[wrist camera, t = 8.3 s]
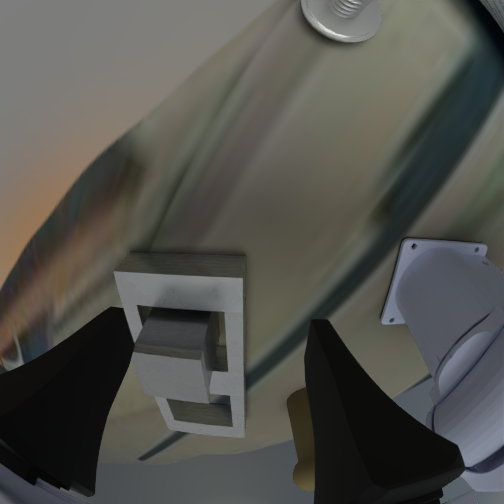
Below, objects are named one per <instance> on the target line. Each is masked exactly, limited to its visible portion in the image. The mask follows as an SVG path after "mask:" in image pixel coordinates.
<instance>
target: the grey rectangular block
mask: <svg viewBox="0 0 504 504" xmlns="http://www.w3.org/2000/svg"><path fill="white" fill-rule="evenodd" d="M219 337H220V331H219V319H218V311H203V310H189V309H176V308H164V307H153V308H152V310H151V312H150V314H149V316H148V318H147V320H146V322H145V324H144V326H143V327H142V329H141V331H140V333H139V335H138V337H137V339H136V341H135V347H134V351H133V354H132V358H131V362H132V365H133V367H134V369H135V372H136V374H137V377H138V379H139V381H140V383H141V386H142V388H143V390H144V392H145V395H150V396H155V397H161V398H168V399H174V400H181V401H189V402H197V403H207V404H209V401H210V389H209V388H210V382H211V377H212V372H213V367H214V362H215V357H216V352H217V347H218V342H219Z"/></svg>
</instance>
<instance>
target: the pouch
mask: <svg viewBox="0 0 504 504" xmlns="http://www.w3.org/2000/svg"><path fill="white" fill-rule="evenodd" d="M480 2H481V3H482V4H483V5H484V6H485V7H486V9H487V10H488V11H489V12H490V14H491V15H492V16H493V18H494V19H495V20H496V22H497V23H498V25H499V26H500V28H501V29H502V31H503V32H504V0H480Z"/></svg>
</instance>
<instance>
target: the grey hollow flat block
mask: <svg viewBox="0 0 504 504" xmlns="http://www.w3.org/2000/svg"><path fill="white" fill-rule="evenodd" d="M114 275H115V279H116V283H117V287H118V291H119V295H120V298H121V302H122V305H123V308H124V312H125V315H126V318H127V322H128V325H129V328H130V331H131V334H132V337H133V340H134V343H135V341H136V339H137V337H138V335H139V333H140V331H141V329H142V327H143V326H144V324H145V322H146V320H147V318H148V316H149V314H150V312H151V310H152V308H153V307H164V308H176V309H189V310H203V311H219V312H224V313H225V330H226V345H227V347H222V346H218V347H217V352H216V357H215V362H214V367H213V372H212V377H211V382H210V388H209V389H210V394H218V395H230V399H231V405H221V404H210V403H209V404H207V403H197V402H189V401H181V400H174V399H168V398H161V397H155V396H154V397H155V399H156V401H157V404H158V406H159V408H160V411H161V413H162V415H163V417H164V419H165V422H166V424H167V426H168V428H169V429H170V430H176V431H183V432H189V433H197V434H205V435H214V436H224V437H237V438H245V429H246V256H236V255H206V254H177V253H149V252H130V253H129V254H128V255H127V256H126V257H125V258H124V260H123V261H122V262H121V263H120V264H119V265H118V267H117V268H116V269H115V270H114Z"/></svg>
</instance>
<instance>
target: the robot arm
mask: <svg viewBox="0 0 504 504" xmlns="http://www.w3.org/2000/svg"><path fill="white" fill-rule="evenodd" d="M414 243H415V245H414V247H411V246H412V245H413V244H414ZM475 248H476V249H475ZM486 252H487V245H485V244H484V243H473V242H459V241H445V240H430V239H414V238H406V239H405V240H403V242H402V244H401V248H400V252H399V256H398V260H397V264H396V268H395V272H394V276H393V279H392V283H391V286H390V290H389V293H388V296H387V300H386V303H385V306H384V309H383V312H382V315H381V319H380V320H381V323H382V324H383V325H389V324H406V325H407V327H408V328H409V330H410V332H411V334H412V336H413V338H414V340H415V342H416V344H417V346H418V348H419V350H420V352H421V354H422V356H423V358H424V360H425V362H426V364H427V367H428V369H429V371H430V373H431V375H432V377H433V379H434V382H435V385H434V387H433V389H432V390H431V391H430V396H431V398H432V401H433V403H434V406H433V407H432V408H431V409H430V411H429V413H428V415H427V418H426V423H425V426H424V425H423V424H421V423H420V422H419V421H417V420H416V419H414V418H413V417H412V416H411V415H409V414H408V413H407V412H406V411H404V410H403V409H402V408H401V407H399V406H398V405H397V404H396V403H395V402H394V401H393V400H392V399H391V398H389V397H388V396H387V395H386V394H385V393H384V392H383V391H382V390H381V389H380V388H379V386H378V385H377V384H376V383H375V382H374V381H373V380H372V379H371V378H370V376H369V375H368V374H367V373H366V372H365V371H364V369H363V368H362V367H361V366H360V364H359V363H358V362H357V360H356V359H355V358H354V356H353V355H352V354H351V353H350V351H349V350H348V348H347V347H346V346H345V344H344V343H343V341H342V340H341V338H340V337H339V335H338V334H337V332H336V331H335V329H334V328H333V326H332V325H331V323H330V322H329V321H328V319H311V324H310V329H309V335H308V340H307V345H306V351H305V356H304V364H305V382H306V388H307V394H308V401H309V407H310V413H311V419H312V425H313V433H314V450H315V491H314V504H440V500H439V499H440V498H442V497H443V491H442V487H444V486H446V485H447V484H448V483H450V482H452V481H453V480H455V479H456V478H458V477H459V476H461V477H463V478H464V479H465V480H466V481H467V482H468V484H469V485H470V486H471V487H472V489H473V490H471V491H469V492H467V493H465V494H463V495H461V496H458V497H456V498H454V499H452V500H449V501H447V502H445V503H443V504H478V500H477V496H476V492H475V491H487V492H488V491H489V492H490V491H504V273H503V272H502V271H501V270H499V269H498V268H497V267H496V266H495V265H494V264H493V263H492V262H491V261H490V260H489V259H487V258H486V257H485V255H486ZM391 318H392V319H391ZM390 319H391V320H390ZM134 347H135V343H134V340H133V337H132V334H131V331H130V328H129V325H128V322H127V318H126V315H125V312H124V308H118V307H109V308H108V309H106V310H105V311H103V312H102V313H101V314H99V315H98V316H96V317H95V318H94V319H92V320H91V321H90V322H88V323H87V324H86V325H84V326H83V327H82V328H80V329H79V330H78V331H76V332H75V333H74V334H72V335H71V336H70V337H68V338H67V339H65V340H64V341H62V342H61V343H59V344H58V345H57V346H55V347H54V348H52V349H51V350H49V351H48V352H46V353H44V354H43V355H41V356H39V357H37V358H36V359H34V360H32V361H30V362H28V363H26V364H24V365H22V366H20V367H17V368H15V369H13V370H11V371H8V372H6V373H3V374H0V504H90V503H88V502H85V501H83V500H81V499H79V498H76V497H74V496H72V495H70V494H68V493H66V492H64V491H62V490H60V487H62V488H64V489H66V490H68V491H69V489H71V490H73V491H76V492H78V493H80V494H82V495H84V496H87V497H90V496H93V495H94V494H95V482H96V469H97V462H98V455H99V449H100V445H101V440H102V435H103V431H104V427H105V424H106V420H107V416H108V414H109V411H110V408H111V406H112V403H113V401H114V399H115V397H116V394H117V392H118V390H119V388H120V385H121V383H122V381H123V379H124V376H125V374H126V372H127V369H128V367H129V364H130V361H131V358H132V354H133V351H134Z"/></svg>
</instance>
